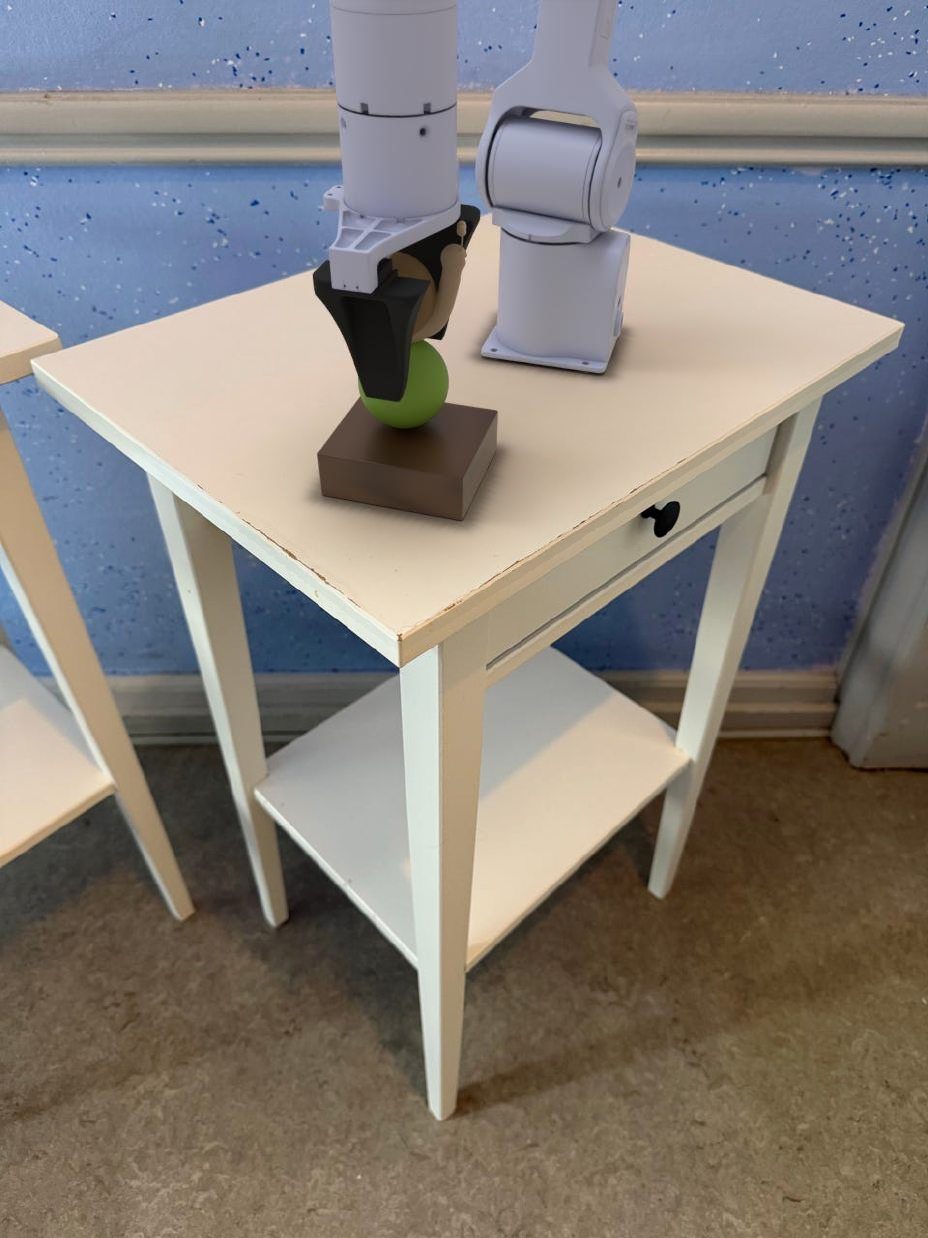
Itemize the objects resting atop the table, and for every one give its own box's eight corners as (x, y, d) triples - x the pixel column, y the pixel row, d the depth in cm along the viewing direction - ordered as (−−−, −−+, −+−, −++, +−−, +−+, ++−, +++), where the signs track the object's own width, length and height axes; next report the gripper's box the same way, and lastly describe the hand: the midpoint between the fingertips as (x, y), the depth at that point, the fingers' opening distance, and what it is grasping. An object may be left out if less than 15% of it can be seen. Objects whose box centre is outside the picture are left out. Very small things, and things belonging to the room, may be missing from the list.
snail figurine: (464, 446, 54) (466, 242, 46) (356, 444, 54) (339, 240, 46) (465, 400, 58) (467, 205, 50) (365, 399, 58) (351, 203, 50)
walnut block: (496, 450, 59) (498, 409, 57) (462, 521, 54) (462, 478, 52) (367, 429, 61) (364, 389, 59) (321, 495, 56) (316, 453, 54)
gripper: (371, 61, 49) (384, 304, 58) (252, 135, 39) (291, 416, 48) (497, 71, 48) (490, 318, 57) (409, 151, 38) (417, 437, 47)
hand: (406, 364), depth 53 cm, fingers open, 7 cm apart
